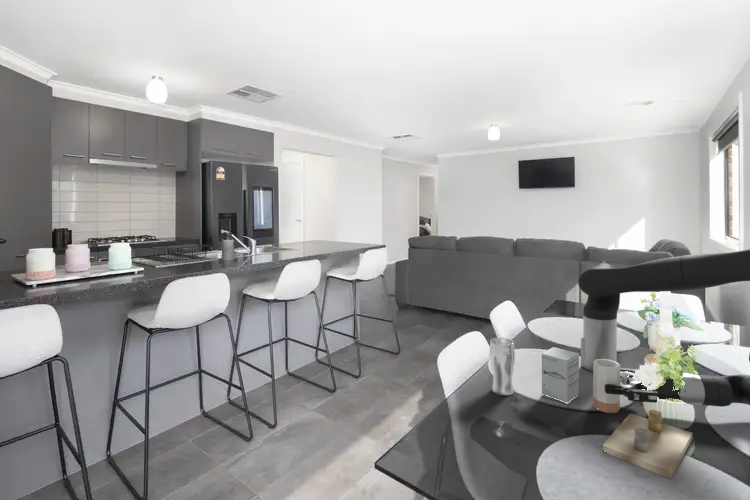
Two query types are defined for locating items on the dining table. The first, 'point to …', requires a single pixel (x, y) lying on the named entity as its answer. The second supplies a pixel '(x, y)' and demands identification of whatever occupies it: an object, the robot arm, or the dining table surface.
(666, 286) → the robot arm
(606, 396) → the sleeve
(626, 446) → the pin board
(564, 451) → the dining table surface
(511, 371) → the beer glass
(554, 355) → the supplement box
